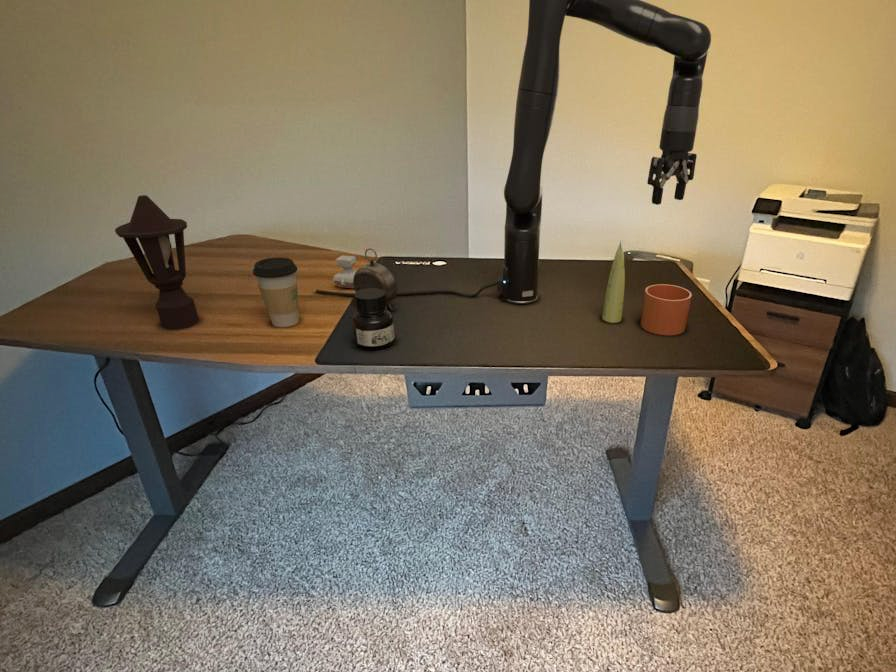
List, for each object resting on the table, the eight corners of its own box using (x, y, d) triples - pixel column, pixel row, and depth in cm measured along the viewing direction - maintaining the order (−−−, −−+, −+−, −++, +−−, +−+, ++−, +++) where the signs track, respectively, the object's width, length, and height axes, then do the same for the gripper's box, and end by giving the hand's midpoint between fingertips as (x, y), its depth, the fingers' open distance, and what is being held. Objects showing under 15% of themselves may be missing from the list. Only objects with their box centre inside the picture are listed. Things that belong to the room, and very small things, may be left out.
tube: (627, 321, 144) (637, 246, 134) (612, 326, 141) (621, 249, 132) (612, 314, 148) (621, 240, 138) (597, 318, 145) (605, 243, 136)
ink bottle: (357, 354, 126) (350, 303, 120) (350, 338, 133) (343, 289, 127) (400, 347, 129) (396, 297, 123) (391, 331, 136) (387, 284, 130)
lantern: (181, 339, 130) (141, 206, 115) (130, 330, 134) (85, 200, 119) (227, 315, 143) (196, 192, 128) (179, 307, 146) (143, 187, 131)
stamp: (353, 292, 157) (349, 263, 153) (331, 290, 159) (327, 261, 154) (368, 282, 165) (364, 253, 161) (347, 279, 166) (343, 251, 162)
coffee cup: (314, 317, 143) (304, 259, 135) (289, 332, 134) (277, 272, 127) (282, 311, 145) (270, 254, 138) (255, 326, 137) (241, 266, 130)
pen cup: (643, 334, 137) (648, 299, 133) (637, 316, 147) (642, 283, 142) (689, 336, 137) (696, 301, 132) (680, 318, 146) (686, 285, 142)
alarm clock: (399, 309, 148) (394, 248, 140) (387, 317, 143) (381, 254, 135) (365, 302, 152) (358, 242, 143) (352, 309, 147) (344, 248, 139)
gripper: (684, 124, 133) (673, 195, 142) (645, 127, 126) (635, 202, 134) (712, 127, 128) (698, 201, 137) (673, 131, 121) (661, 208, 129)
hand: (667, 201), depth 135 cm, fingers open, 8 cm apart
